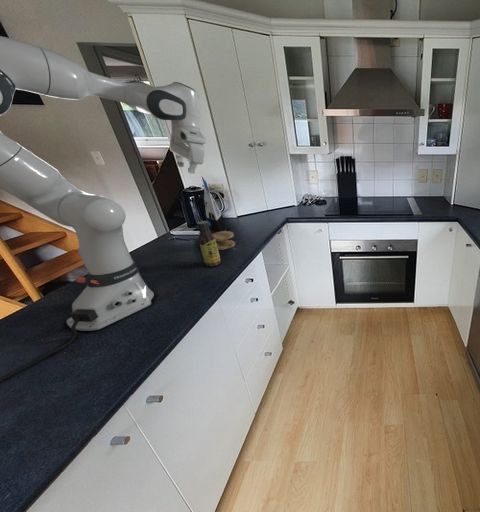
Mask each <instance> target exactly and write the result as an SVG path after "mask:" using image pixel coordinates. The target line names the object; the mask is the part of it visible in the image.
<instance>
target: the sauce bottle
mask: <svg viewBox="0 0 480 512" xmlns="http://www.w3.org/2000/svg"><path fill="white" fill-rule="evenodd" d="M208 225H209V224H208V222H207V220H202V221H197V222H196V226H197V227H198V230H199V235H198V242H199V248H200V250H201V255H202V257H203V258H202V259H203V260H204V261H203V262H204V263H205V266H206V267H215V266H216V267H217V266H218V265H220V264H221V262H222V260H221V255H220V252H219V251H220V250H218V247H217V241H216V240H215V238H214V236H213V235H212V233H211V232H210V230H209V226H208Z"/></svg>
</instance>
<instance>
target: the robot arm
mask: <svg viewBox="0 0 480 512" xmlns="http://www.w3.org/2000/svg"><path fill="white" fill-rule="evenodd" d="M16 90H18V91H25V92H30V93H34V94H38V95H42V96H47V97H51V98H56V99H64V100H74V101H81V100H84V99H85V98H87V96H94V97H97V98H98V97H99V98H102V99H107V100H111V101H115V102H119V103H122V104H124V105H126V106H128V107H129V108H131V109H132V110H134V111H135V112H138V113H141V114H145V115H148V116H150V117H152V118H155V119H157V120H162V121H170V135H169V150H170V152H172V153H174V155H175V160H176V166H178V167H179V168H184V167H185V163H184V160H185V161H187V162H188V164H189V167H187V172H188V173H189V174H191V175H195V174H196V170H197V169H196V168H197V166H198V165H203V164H204V161H205V144H207V143H206V142H207V141H206V140H207V138H206V137H205V136H204V135H203V134H202V132H201V125H200V118H201V100H200V95H199V93H198V91H197V90H195V89H194V88H193V87H190V86H188V85H186V84H184V83H182V82H179V81H173V82H172V83H169V84H167V85H160V86H154V85H150V84H148V83H146V82H144V81H141V80H124V81H122V80H118V79H115V78H110V77H108V76H104V75H101V74H97V73H94V72H91V71H89V70H88V69H85V68H84V67H83V66H82V65H81V64H80V63H79V62H77V61H76V60H73V59H71V58H69V57H67V56H65V55H62V54H60V53H58V52H55V51H53V50H50V49H47V48H44V47H41V46H39V45H35V44H32V43H29V42H26V41H22V40H19V39H15V38H11V37H6V36H2V35H0V117H1V116H3V115H5V114H6V113H7V112H8V111H9V110H10V109H11V107H12V104H13V99H14V95H15V93H16ZM0 190H3V191H4V192H6V193H8V194H9V195H11V196H14V198H17V199H19V200H20V201H22V202H23V203H24V204H27V205H28V206H29V207H31V208H32V209H34V210H35V211H37V212H38V213H40V214H42V215H44V216H45V217H47V218H49V219H50V220H52V221H54V222H56V223H57V224H58V225H59V224H60V225H62V226H64V227H65V226H66V227H70V228H72V229H73V230H74V232H75V234H76V238H77V241H78V242H77V243H78V248H77V253H78V255H79V257H80V259H81V260H82V262H83V264H84V266H85V268H86V270H87V276H82V275H79V276H76V278H75V282H76V283H78V284H79V283H80V284H86V286H85V288H83V290H82V291H81V293H80V294H79V295H78V296H77V297H76V299H75V300H73V302H72V304H71V311H72V312H70V313H69V316H70V317H69V318H68V319H67V320H66V324H67V326H68V327H69V328H70V330H71V333H72V336H71V338H70V339H69V340H68V341H67V342H66V343H65V344H62V345H61V346H59V347H57V348H55V349H52V350H50V351H49V352H46V353H44V354H43V355H42V356H40V357H38V358H36V359H34V360H32V361H30V362H28V363H26V364H24V365H23V366H21V367H19V368H17V369H15V370H13V371H11V372H9V373H8V374H6V375H4V376H2V377H0V383H2V382H4V381H5V380H7V379H8V378H10V377H12V376H14V375H16V374H18V373H20V372H22V371H25V370H26V369H28V368H29V367H32V366H34V365H35V364H37V363H39V362H42V361H43V360H44V359H46V358H48V357H50V356H51V355H53V354H55V353H57V352H59V351H61V350H62V349H64V348H65V347H67V346H68V345H70V344H71V343H72V342H74V341H75V340H76V338H77V337H78V331H81V332H91V331H98V330H101V329H103V328H105V327H107V326H109V325H111V324H114V323H116V322H117V321H120V320H122V319H124V318H126V317H128V316H130V315H133V314H135V313H137V312H139V311H141V310H143V309H145V308H147V307H149V306H151V305H152V299H154V295H155V293H154V291H152V290H151V289H150V288H149V287H148V285H147V283H146V282H145V281H144V279H143V277H142V275H141V273H140V270H139V268H138V265H137V263H136V261H134V260H133V258H132V256H131V254H130V252H129V249H128V247H127V245H126V242H125V236H124V231H123V230H124V229H123V225H124V223H125V221H126V216H127V215H126V212H125V211H126V210H124V208H123V207H122V206H121V204H120V203H118V202H116V201H115V200H112V199H111V198H108V197H106V196H103V195H99V194H93V193H88V192H86V191H83V190H81V189H79V188H77V187H76V186H75V185H73V184H72V183H71V182H69V181H68V179H66V178H65V177H64V176H63V175H62V174H61V173H60V171H59V170H58V169H56V168H55V167H54V166H53V165H51V164H49V163H48V162H46V161H45V160H44V159H41V158H40V157H39V156H37V155H36V154H34V153H33V152H32V151H31V150H28V149H27V148H26V147H24V146H23V145H20V144H19V143H18V142H16V141H14V140H13V139H12V138H10V137H8V136H7V135H6V134H4V133H3V132H2V131H0Z"/></svg>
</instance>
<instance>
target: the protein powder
mask: <svg viewBox="0 0 480 512" xmlns="http://www.w3.org/2000/svg"><path fill="white" fill-rule="evenodd" d="M201 179H202V183H203V186H204V190H203V191H204V194H203V202H204V208H205V209H204V210H205V216H206V221H207V222H208V224H209V225H208V226H209V230H210V232H211V233H212V234H213V233H216V232H221V231H228V228H227V225H226V222H225V219H224V215H223V213H222V211H221V209H220V207H219V206H218V204H217V202H216V199H215V198H214V197H213V195H212V194H211V192H210V189H209V187H208V183H207V181H206V180H205V178H204V177H203V176H201Z"/></svg>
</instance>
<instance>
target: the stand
mask: <svg viewBox="0 0 480 512" xmlns="http://www.w3.org/2000/svg"><path fill="white" fill-rule="evenodd" d="M212 235H213V236H214V238H215V240H216V243H217V247H218V251H225V250H229V249H232V248H234V246H236V241H234V240H231V239H232V238H233V237H234V236H235V234H234V232H233V231H230V230H227V231H221V232H216V233H213V234H212Z"/></svg>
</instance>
